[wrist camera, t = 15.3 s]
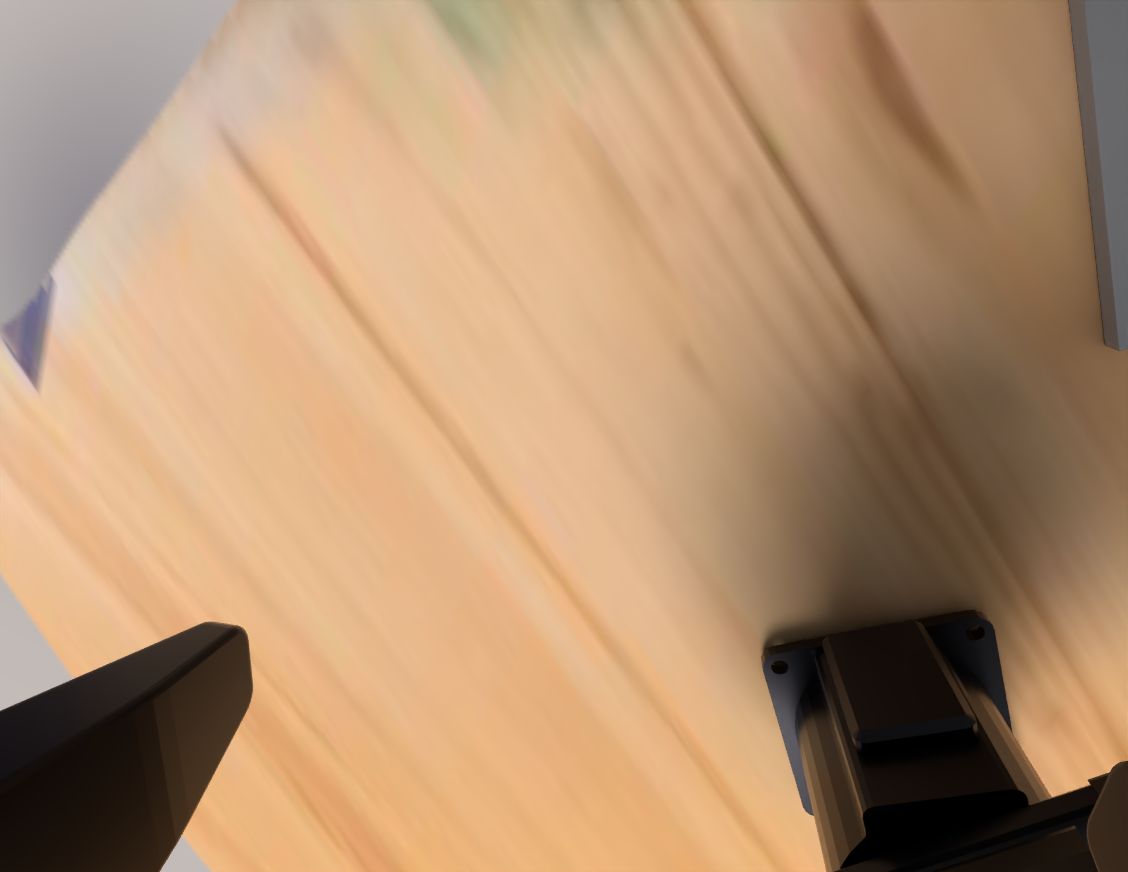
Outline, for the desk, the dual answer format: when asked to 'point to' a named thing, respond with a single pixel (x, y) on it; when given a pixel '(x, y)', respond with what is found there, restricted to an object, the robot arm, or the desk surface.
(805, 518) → the desk surface
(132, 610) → the desk surface
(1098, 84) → the collar base
